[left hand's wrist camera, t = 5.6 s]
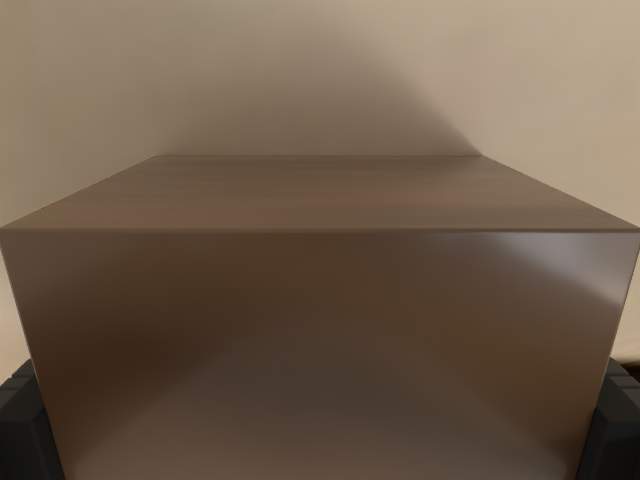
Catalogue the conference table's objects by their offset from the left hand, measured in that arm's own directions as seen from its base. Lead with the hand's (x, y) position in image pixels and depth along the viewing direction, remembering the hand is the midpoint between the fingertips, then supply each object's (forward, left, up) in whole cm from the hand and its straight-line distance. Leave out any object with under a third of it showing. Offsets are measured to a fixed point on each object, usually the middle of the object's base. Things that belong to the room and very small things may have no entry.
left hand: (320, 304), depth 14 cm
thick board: (+21, +15, 0) cm, 26 cm away
